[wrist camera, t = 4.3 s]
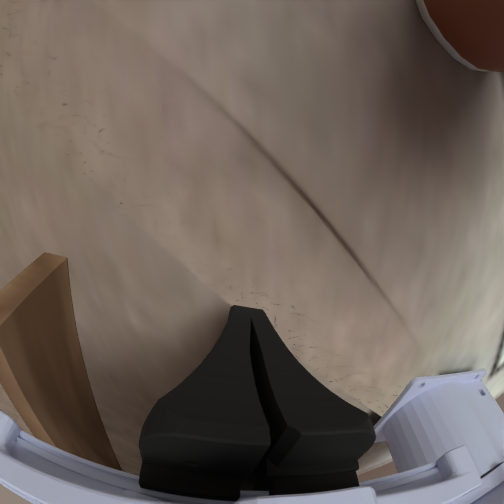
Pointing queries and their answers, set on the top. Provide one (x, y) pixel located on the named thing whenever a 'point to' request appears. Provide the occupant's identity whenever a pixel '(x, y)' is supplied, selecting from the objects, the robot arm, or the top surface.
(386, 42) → the top surface
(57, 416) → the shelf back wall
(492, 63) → the coffee cup
